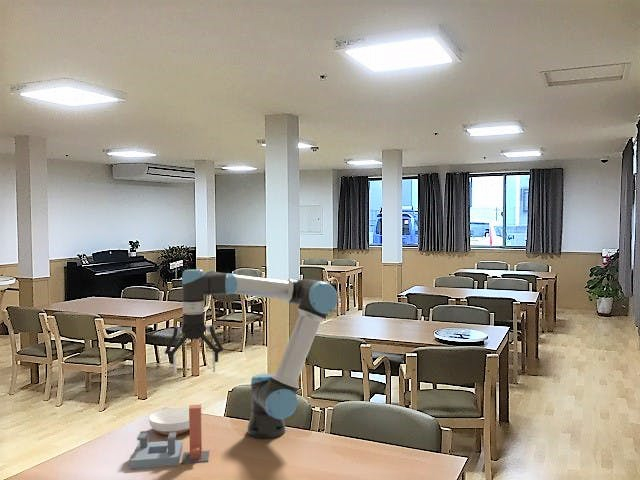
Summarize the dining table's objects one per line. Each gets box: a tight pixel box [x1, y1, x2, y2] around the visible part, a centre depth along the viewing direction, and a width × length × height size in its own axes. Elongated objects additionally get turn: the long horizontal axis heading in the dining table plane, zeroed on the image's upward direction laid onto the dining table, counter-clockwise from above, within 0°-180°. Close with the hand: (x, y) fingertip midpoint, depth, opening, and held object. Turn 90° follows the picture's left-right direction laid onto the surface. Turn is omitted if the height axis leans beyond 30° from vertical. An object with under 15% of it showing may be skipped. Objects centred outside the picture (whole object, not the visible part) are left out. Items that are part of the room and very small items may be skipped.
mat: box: [181, 450, 210, 465], centre depth 204 cm, size 9×9×1 cm
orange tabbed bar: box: [188, 404, 203, 459], centre depth 204 cm, size 12×4×18 cm, turn 9°
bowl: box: [148, 407, 189, 436], centre depth 232 cm, size 20×20×6 cm
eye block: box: [130, 430, 184, 470], centre depth 204 cm, size 16×16×8 cm
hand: (194, 372), depth 203 cm, fingers open, 13 cm apart
